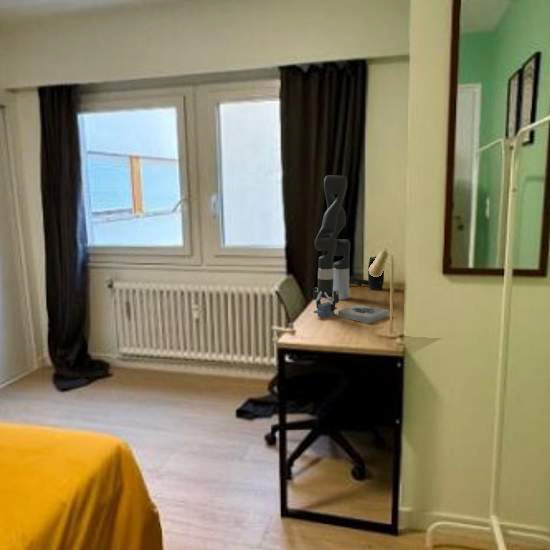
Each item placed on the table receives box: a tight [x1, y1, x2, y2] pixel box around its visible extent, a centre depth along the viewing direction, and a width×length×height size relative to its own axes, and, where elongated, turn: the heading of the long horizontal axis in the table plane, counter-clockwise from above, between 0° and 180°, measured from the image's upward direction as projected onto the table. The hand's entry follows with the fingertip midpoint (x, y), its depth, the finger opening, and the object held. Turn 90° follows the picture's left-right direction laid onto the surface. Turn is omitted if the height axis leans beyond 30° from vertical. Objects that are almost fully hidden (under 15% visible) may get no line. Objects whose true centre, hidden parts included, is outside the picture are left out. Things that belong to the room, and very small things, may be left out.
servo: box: [313, 300, 338, 319], centre depth 246 cm, size 4×13×7 cm, turn 135°
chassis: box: [337, 304, 390, 324], centre depth 244 cm, size 18×17×3 cm
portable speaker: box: [367, 256, 385, 291], centre depth 302 cm, size 9×9×20 cm
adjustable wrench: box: [349, 276, 369, 287], centre depth 313 cm, size 8×3×25 cm
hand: (325, 309), depth 246 cm, fingers open, 8 cm apart
